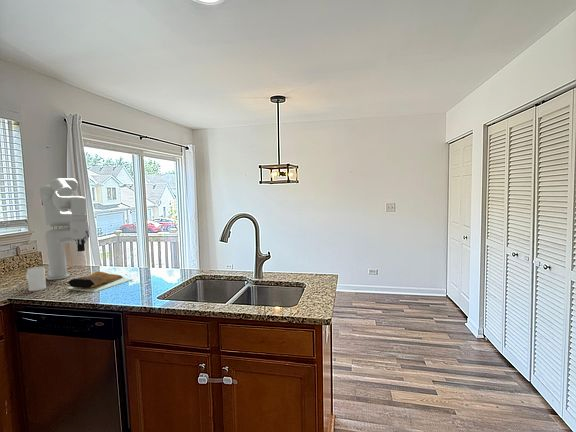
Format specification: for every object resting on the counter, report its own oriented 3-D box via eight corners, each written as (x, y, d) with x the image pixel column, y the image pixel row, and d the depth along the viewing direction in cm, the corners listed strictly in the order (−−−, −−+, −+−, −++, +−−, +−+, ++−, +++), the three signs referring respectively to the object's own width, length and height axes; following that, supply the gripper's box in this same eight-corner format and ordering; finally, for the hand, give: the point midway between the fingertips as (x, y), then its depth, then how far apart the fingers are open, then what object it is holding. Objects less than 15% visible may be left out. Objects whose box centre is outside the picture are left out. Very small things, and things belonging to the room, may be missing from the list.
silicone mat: (66, 288, 198) (66, 287, 198) (106, 277, 223) (106, 276, 223) (94, 292, 190) (94, 291, 190) (132, 279, 215) (132, 279, 215)
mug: (20, 289, 197) (19, 269, 196) (36, 285, 205) (34, 265, 204) (35, 291, 193) (33, 270, 192) (50, 287, 201) (48, 267, 200)
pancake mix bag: (97, 277, 193) (125, 272, 221) (65, 275, 195) (96, 271, 223) (96, 289, 193) (124, 283, 220) (64, 287, 194) (95, 281, 222)
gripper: (63, 219, 192) (65, 251, 193) (82, 219, 186) (84, 253, 188) (76, 217, 199) (78, 249, 200) (94, 218, 193) (96, 250, 195)
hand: (81, 251), depth 194 cm, fingers closed
